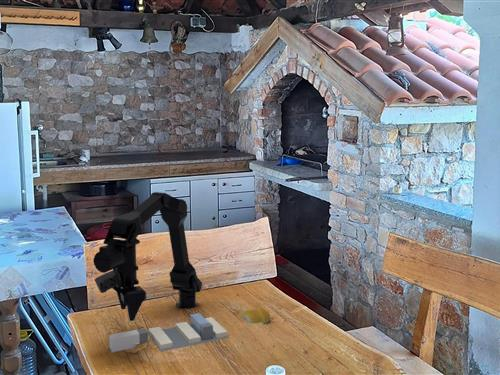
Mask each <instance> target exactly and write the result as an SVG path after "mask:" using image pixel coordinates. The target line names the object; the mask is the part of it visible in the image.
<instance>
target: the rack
mask: <svg viewBox="0 0 500 375" xmlns="http://www.w3.org/2000/svg"><path fill="white" fill-rule="evenodd" d="M204 318H205V319H206V320H207V321H208V322H209V323H211V324H212V325H213V338H212V339H207V340H202V339H201V337H200V336H199V335H198V334H197V333H196V331H195V330H194V329H193V328H192V327H191V326H190V323H188V322H187V321H184V322H183V321H182V322H177V323H175V326H173V327H168V328H164V329H163V328H161V326H156V327H155V326H154V327H151V328H148V331H147V332H148V337H149V338H150V339H151V340H152V341H153V343H154V344H155V345H156V347H157V348H158V349H159V351H160V352H161V353H162V352H167V351H172V350H177V349H181V348H186V347H190V346H195V345H200V344H201V345H202V344H204V343H210V342H211V343H212V342H215V341H220V340H226V339H229V338H230V336H229V335H228V331H227V330H226V329H225V328H224V327H223V326H222V325H221V324H220V323H219V322H217V321H216V319H215V318H214V317H212V316H211V317H204Z"/></svg>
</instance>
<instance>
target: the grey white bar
mask: <svg viewBox="0 0 500 375" xmlns="http://www.w3.org/2000/svg"><path fill="white" fill-rule="evenodd" d="M108 340H109V341H108V344H109V345H108V346H109V347H108V348H109V350H110V352H111V353H117V352H121V351H126V350H132V349H136V348H138V346H137V345H139V344H146V343H149V335H148V331H147V329H146V328H139V329H134V330H128V331H124V332H123V331H122V332H117V333H113V334H109V335H108Z"/></svg>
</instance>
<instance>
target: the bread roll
mask: <svg viewBox="0 0 500 375" xmlns="http://www.w3.org/2000/svg"><path fill="white" fill-rule="evenodd" d="M241 318H242V319H243V320H244V321H246V322H247V323H250V324H259V323H262V324H267V323H269V322H270V321H271V320H270V319H271V314H270V312H268V310H266V309H265V308H262V307H257V308H253V309H247V310H244V312H242V314H241Z"/></svg>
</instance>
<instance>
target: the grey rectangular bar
mask: <svg viewBox="0 0 500 375" xmlns="http://www.w3.org/2000/svg"><path fill="white" fill-rule="evenodd" d="M189 315H190V319H189V320H190V323H189V324H190V326H191V327H192V328H193V329H194V330H195V331H196V333H197V334H198V335H199V336H200V337H201V339H202V340H207V339H212V338H213V325H212V324H211V323H209V322H208V321H207V320H206V319H205V318H206V317H204V316H203V315H202V314H201V313H200V312H198V313H192V314H189Z"/></svg>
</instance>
